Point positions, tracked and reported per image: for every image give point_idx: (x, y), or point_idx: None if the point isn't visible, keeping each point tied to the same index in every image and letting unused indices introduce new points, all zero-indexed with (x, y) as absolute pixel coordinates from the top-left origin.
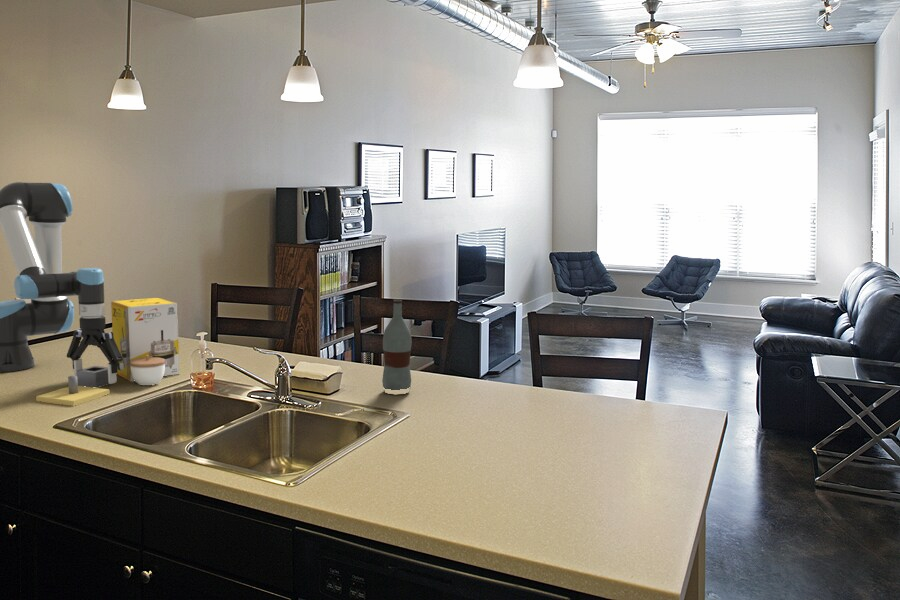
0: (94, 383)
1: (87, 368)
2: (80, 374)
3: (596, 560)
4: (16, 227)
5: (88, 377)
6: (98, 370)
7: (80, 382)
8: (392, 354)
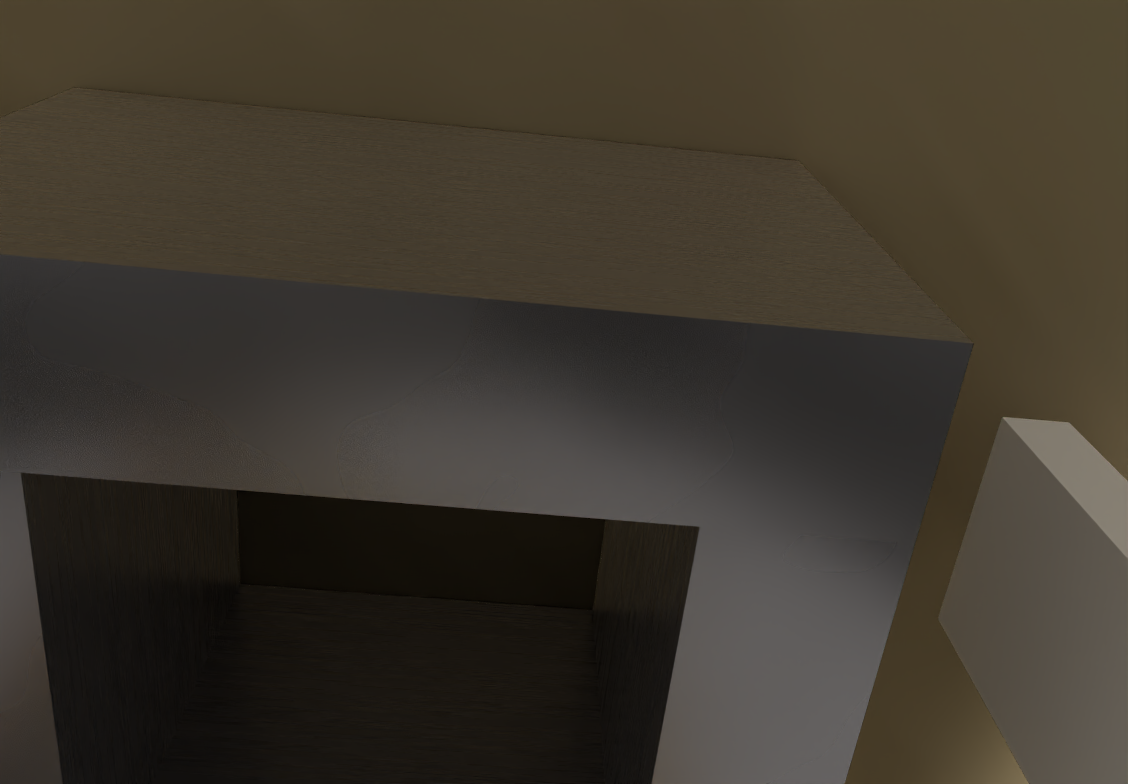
0: (70, 121)
1: (727, 762)
2: (707, 263)
3: None
4: None
5: (278, 191)
6: (25, 630)
7: (683, 174)
8: None
